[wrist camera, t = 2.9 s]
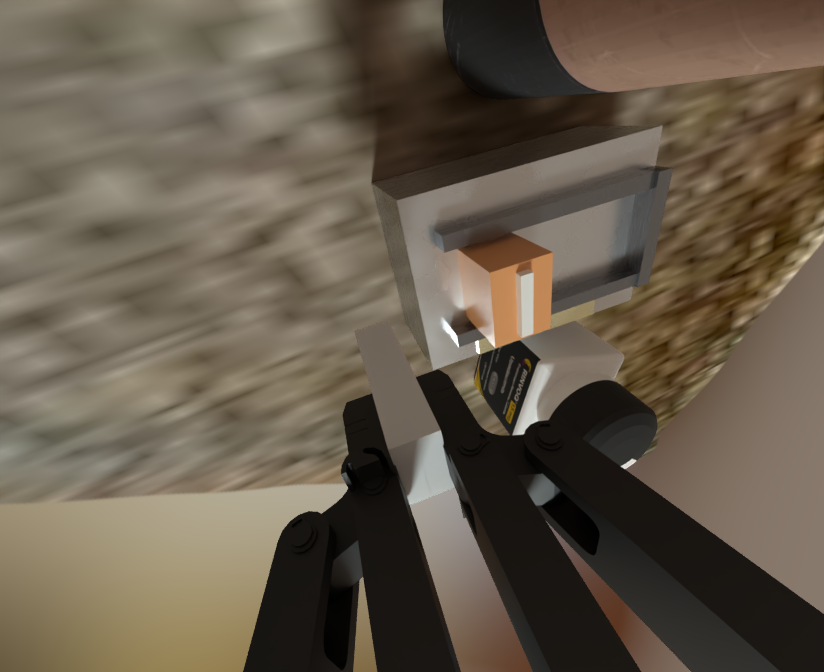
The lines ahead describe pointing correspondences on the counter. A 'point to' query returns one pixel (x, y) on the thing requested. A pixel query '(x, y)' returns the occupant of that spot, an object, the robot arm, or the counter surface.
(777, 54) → the travel mug
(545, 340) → the medicine bottle
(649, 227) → the grey boxy piece
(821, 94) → the counter surface
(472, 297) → the toggle
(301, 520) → the robot arm
